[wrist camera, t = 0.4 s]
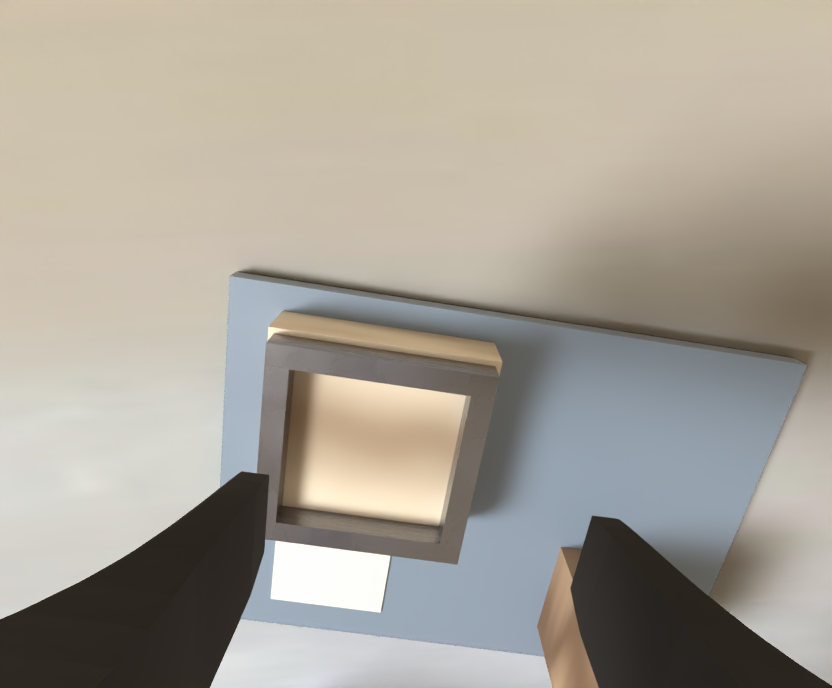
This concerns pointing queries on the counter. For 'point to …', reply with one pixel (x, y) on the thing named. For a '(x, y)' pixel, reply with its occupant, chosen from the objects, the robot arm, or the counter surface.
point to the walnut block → (564, 629)
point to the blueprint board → (475, 455)
